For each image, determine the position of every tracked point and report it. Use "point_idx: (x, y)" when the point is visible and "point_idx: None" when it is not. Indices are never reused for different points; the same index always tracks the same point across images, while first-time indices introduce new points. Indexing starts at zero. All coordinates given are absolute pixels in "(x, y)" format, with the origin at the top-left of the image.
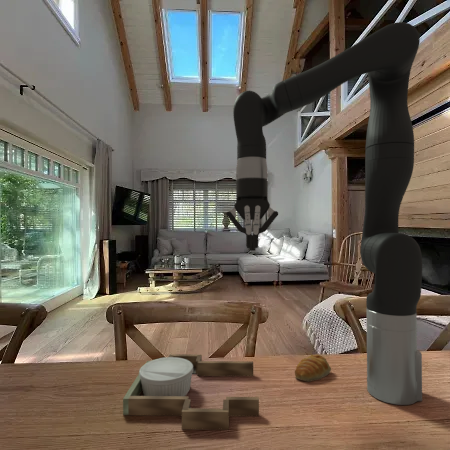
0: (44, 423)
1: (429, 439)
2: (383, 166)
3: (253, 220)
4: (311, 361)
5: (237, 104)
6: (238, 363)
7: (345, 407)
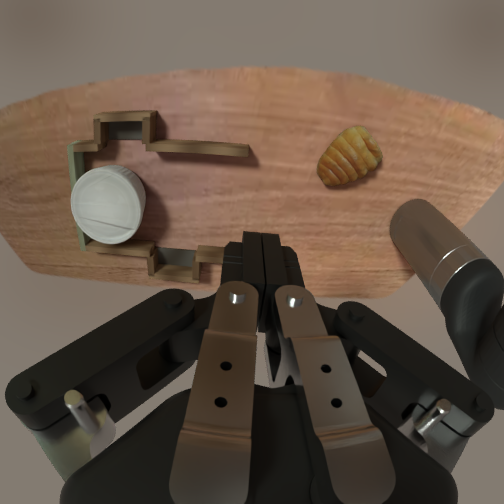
0: (34, 248)
1: (382, 292)
2: None
3: (295, 370)
4: (353, 165)
5: None
6: (220, 154)
7: (345, 244)
